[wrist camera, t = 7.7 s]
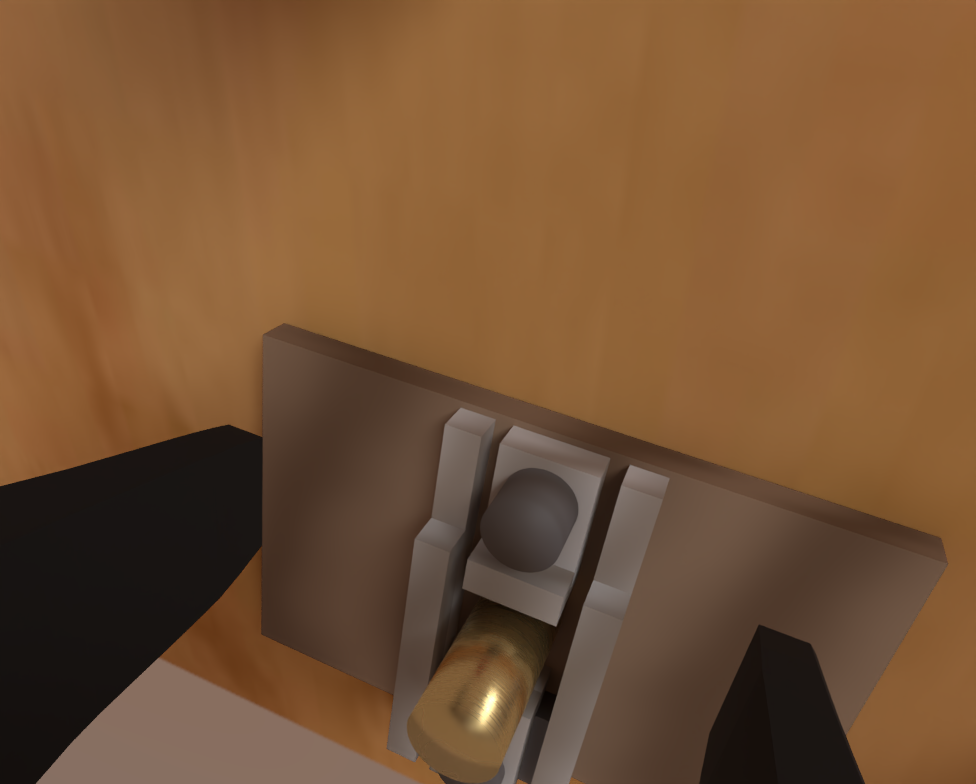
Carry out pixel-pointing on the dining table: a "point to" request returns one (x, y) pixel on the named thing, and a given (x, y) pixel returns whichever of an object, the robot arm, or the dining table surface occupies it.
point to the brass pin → (480, 692)
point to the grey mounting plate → (554, 561)
